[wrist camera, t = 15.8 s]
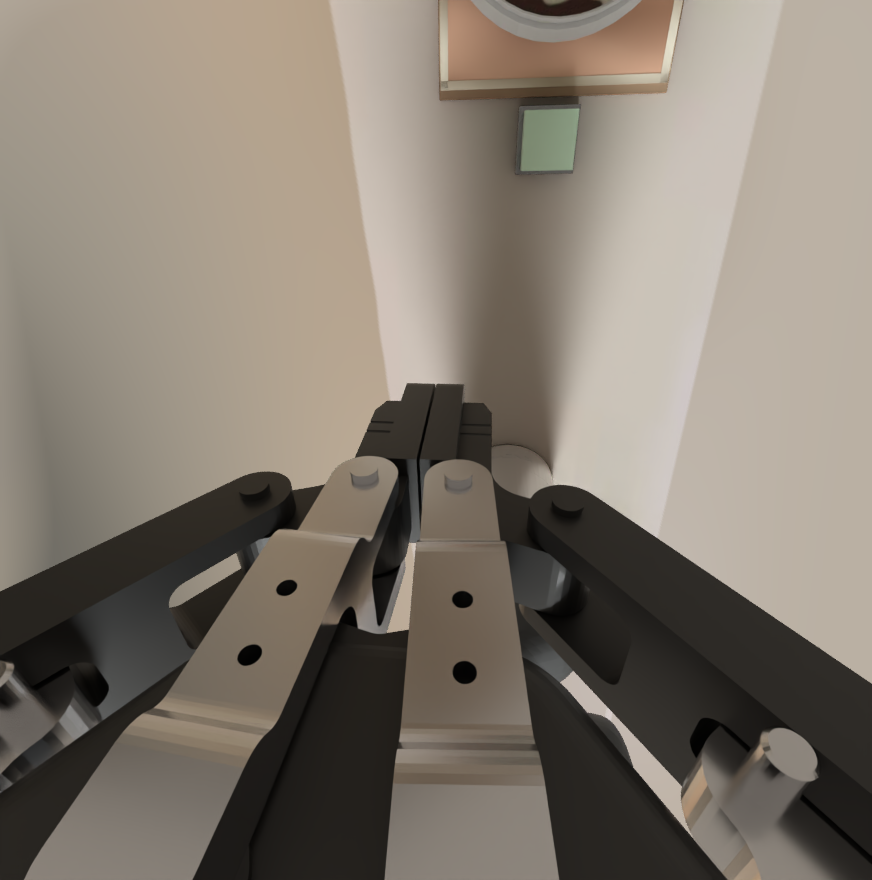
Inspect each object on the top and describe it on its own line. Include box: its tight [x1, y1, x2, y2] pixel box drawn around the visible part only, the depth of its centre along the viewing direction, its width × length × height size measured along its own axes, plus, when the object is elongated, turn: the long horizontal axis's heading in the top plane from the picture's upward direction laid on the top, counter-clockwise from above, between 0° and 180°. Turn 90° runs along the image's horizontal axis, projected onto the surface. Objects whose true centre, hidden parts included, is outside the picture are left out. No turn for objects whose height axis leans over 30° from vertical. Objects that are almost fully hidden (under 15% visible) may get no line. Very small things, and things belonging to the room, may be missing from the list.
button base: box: [515, 104, 581, 174], centre depth 33 cm, size 4×4×1 cm
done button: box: [520, 109, 580, 171], centre depth 32 cm, size 3×3×2 cm
